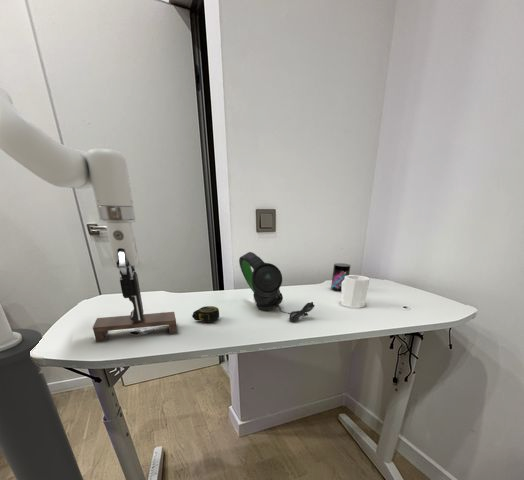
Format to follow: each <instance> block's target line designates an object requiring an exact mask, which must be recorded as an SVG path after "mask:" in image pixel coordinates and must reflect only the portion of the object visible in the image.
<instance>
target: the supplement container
mask: <svg viewBox="0 0 524 480" xmlns="http://www.w3.org/2000/svg"><path fill="white" fill-rule="evenodd" d="M351 267H352V266H351V264H348V263H342V262H341V263H340V262H337V263H336V262H335V263H333V271H332V277H331V284H330V289H331V290H332V291H335V292H342V281H343V280H344V278H345V276H348V275H350V271H351Z"/></svg>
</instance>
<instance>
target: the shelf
mask: <svg viewBox="0 0 524 480" xmlns="http://www.w3.org/2000/svg"><path fill="white" fill-rule="evenodd" d="M130 315H131V314H129V315H117V316H105V317H96V320H95V321H94V323H93V326H92V332H93V335H94V340H95V342H96V343H104V342H106V339H107V336H108V333H109V331H119V330H120V331H121V330H130V329H140V328H152V327H161V326H168V331H169V335H177V334H178V326H177V325H178V324H177V318H176V313H175V311H165V312H153V313H143V320H131V319H130Z"/></svg>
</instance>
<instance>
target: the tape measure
mask: <svg viewBox="0 0 524 480" xmlns="http://www.w3.org/2000/svg"><path fill="white" fill-rule="evenodd" d="M191 317H192V318H193V320H194V321H197V322H198V321H199V322H203V323H212V322H216V321H218V320H219V318H220V309H219V308H218V307H217V306H213V305H209V306H202V307H199V308H198V309H197V310H194V311H193V313H192V314H191Z"/></svg>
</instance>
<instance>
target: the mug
mask: <svg viewBox="0 0 524 480" xmlns="http://www.w3.org/2000/svg"><path fill="white" fill-rule="evenodd" d="M369 284H370V278H369V277H368V276H364V275H361V274H349V275H348V276H345V278H344V280H343V281H342V291H341V297H340V304H341V306H343V307H346V308H351V309H361V308H364V307H365V306H366V300H367V295H368V291H369Z"/></svg>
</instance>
